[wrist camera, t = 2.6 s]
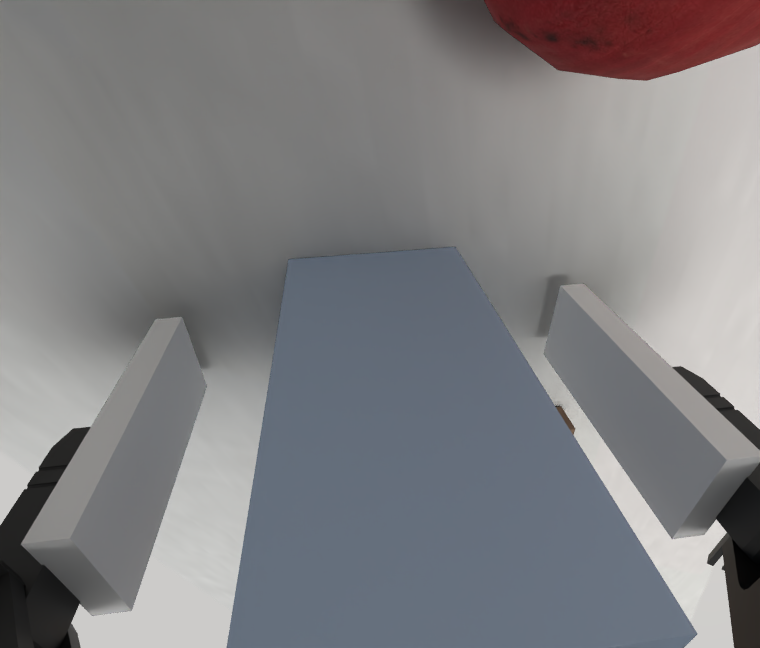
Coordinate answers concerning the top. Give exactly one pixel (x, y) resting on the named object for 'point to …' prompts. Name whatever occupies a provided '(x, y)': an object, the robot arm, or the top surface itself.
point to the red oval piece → (629, 33)
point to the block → (427, 481)
